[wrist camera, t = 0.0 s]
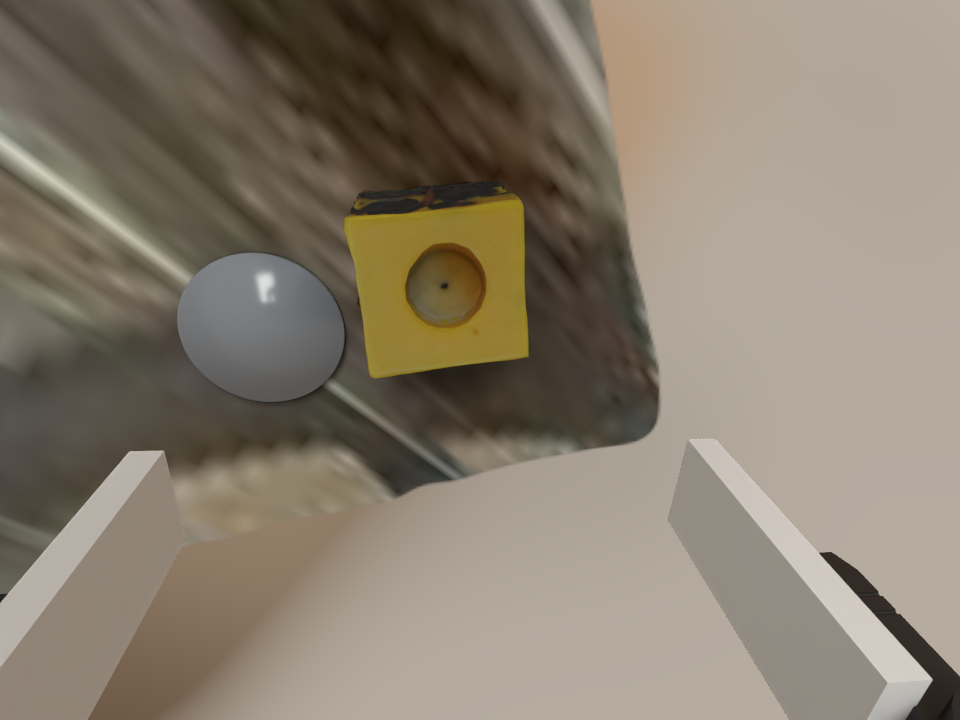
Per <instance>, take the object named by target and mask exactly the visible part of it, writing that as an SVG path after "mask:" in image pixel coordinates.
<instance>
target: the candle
mask: <svg viewBox="0 0 960 720" xmlns="http://www.w3.org/2000/svg"><path fill="white" fill-rule="evenodd" d="M354 204H355V208H354V207H352V208H351V212H350V216H347V217H345V221H344V231H345V235H346V239H347V243H348V246H349V249H350V252H351V255H352V258H353V261H354V264H355V273H356V283H357V288H358V293H359V297H358V301H357V304H358V306H359V307H360V308H361V312H362V318H363V327H364V338H365V348H366V354H367V361H368V368H369V374H370V376H371V377H372V378H382V377H390V376H395V375H401V374H408V373H415V372H422V371H427V370H433V369H440V368H447V367H454V366H462V365H470V364H478V363H486V362H494V361H505V360H514V359H520V358H525V357H528V320H527V312H526V302H525V242H524V206H523V204H522V202H521V199H520V198H518V197H517V196H516V195H514V194H513V193H509V192H508V191H507V192H506V190H504V186H503V185H501V184H500V183H498V181H495V182H494V181H488V182H475V183H470V182H463V183H458V184H456V185H452V184H447V185H439V186H435V185H434V186H422V187H418V186H416V187H415V188H413V189H404V190H389V191H381V192H371V191H367V190H366V191H363V192H362V193H360V194H358V196H357V200H356V201H355V202H354Z"/></svg>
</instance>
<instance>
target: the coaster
mask: <svg viewBox="0 0 960 720" xmlns="http://www.w3.org/2000/svg"><path fill="white" fill-rule="evenodd" d="M177 325H178V332H179V336H180V339H181V342H182V345H183V347H184V349H185V351H186V353H187V355H188V356H189V358H190V360H191V361H192V362H193V364H194V365H195V366H196V368H197V369H198V370H199V371H200V372H201V373H202V374H203V375H204V376H205V377H206V378H208V379H209V380H210V381H211V382H213V383H214V384H216V385H217V386H219V387H220V388H222V389H224V390H226V391H228V392H230V393H232V394H234V395H237V396H240V397H243V398H246V399H250V400H256V401H262V402H279V401H286V400H292V399H295V398H298V397H302V396H304V395H306V394H308V393H310V392H312V391H314V390H315V389H317V388H318V387H319V386H321V385H322V384H323V383H324V382H325V381H326V380H327V379H328V378H329V377H330V376H331V375H332V373H333V372H334V370H335V369H336V367H337V365H338V363H339V361H340V358H341V355H342V352H343V348H344V342H345V326H344V320H343V316H342V313H341V310H340V308H339V305H338V303H337V301H336V299H335V298H334V296H333V294H332V293H331V291H330V290H329V289H328V288H327V286H326V285H325V284H324V283H323V282H322V281H321V280H320V279H319V278H318V277H317V276H316V275H315V274H313V273H312V272H311V271H309V270H308V269H307V268H305V267H303V266H302V265H300V264H298V263H296V262H294V261H292V260H290V259H287V258H284V257H281V256H278V255H274V254H269V253H263V252H242V253H236V254H231V255H228V256H225V257H222V258H219V259H217V260H215V261H213V262H211V263H210V264H209V265H207V266H206V267H204V268H203V269H201V270H200V271H199V272H198V273H197V274H196V275H195V276H194V277H193V278H192V279H191V280H190V282H189V283H188V284H187V286H186V288H185V289H184V291H183V293H182V296H181V299H180V302H179V306H178V312H177Z"/></svg>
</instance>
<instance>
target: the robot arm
mask: <svg viewBox="0 0 960 720" xmlns="http://www.w3.org/2000/svg"><path fill="white" fill-rule="evenodd" d="M668 521H669V523H670V524H671V526H672V528H673V529H674V531H675V533H676V534H677V536H678V538H679V539H680V541H681V543H682V544H683V546H684V547H685V549H686V551H687V552H688V554H689V556H690V557H691V559H692V561H693V562H694V564H695V566H696V567H697V569H698V570H699V572H700V574H701V575H702V577H703V579H704V580H705V582H706V584H707V585H708V587H709V588H710V590H711V592H712V593H713V595H714V597H715V598H716V600H717V602H718V603H719V605H720V607H721V608H722V610H723V611H724V613H725V615H726V617H727V618H728V620H729V621H730V623H731V625H732V626H733V628H734V630H735V631H736V633H737V635H738V636H739V638H740V639H741V641H742V643H743V644H744V646H745V648H746V649H747V651H748V653H749V654H750V656H751V658H752V659H753V661H754V663H755V664H756V666H757V667H758V669H759V671H760V672H761V674H762V676H763V677H764V679H765V681H766V682H767V684H768V686H769V687H770V689H771V691H772V692H773V694H774V695H775V697H776V698H777V700H778V702H779V703H780V705H781V707H782V709H783V710H784V712H785V714H786V715H787V717H788V718H789V720H960V676H959V675H958V674H957V673H956V672H955V671H954V670H953V669H952V668H951V667H950V666H949V665H948V664H947V663H946V662H945V661H944V660H943V659H942V658H941V656H940V655H939V654H938V653H937V652H936V651H935V650H934V649H933V648H932V647H931V646H930V645H929V644H928V643H927V642H926V641H925V640H924V639H923V638H922V637H921V636H920V635H919V633H918V632H917V631H916V630H915V629H914V628H913V627H912V626H911V625H910V624H909V623H908V622H907V621H906V620H905V619H904V618H903V617H902V616H901V615H900V614H897V613H896V611H895V608H894V607H892V605H891V604H890V603H889V602H888V601H887V600H886V599H885V598H884V597H883V596H879V594H878V591H877V590H876V589H875V588H874V586H873V585H872V584H871V583H870V582H869V581H868V580H867V579H866V578H865V577H864V576H863V575H862V574H861V573H860V572H859V571H858V570H857V569H855V568H854V567H853V566H851V565H850V564H848V563H847V562H845V561H844V560H842V559H841V558H839V557H838V556H836V555H835V554H833V553H832V552H825V553H818V552H817V551H816V550H815V549H814V547H813V546H812V545H811V544H810V543H809V542H808V541H807V540H806V539H805V538H804V537H803V535H802V534H801V533H800V532H799V531H798V530H797V529H796V528H795V527H794V526H793V524H792V523H791V522H790V521H789V520H788V519H787V518H786V517H785V516H784V514H783V513H782V512H781V511H780V510H779V509H778V508H777V507H776V505H775V504H774V503H773V502H772V501H771V500H770V499H769V498H768V497H767V496H766V494H764V492H763V491H762V490H761V489H760V488H759V487H758V486H757V484H756V483H755V482H754V481H753V480H752V479H751V478H750V477H749V476H748V475H747V474H746V472H745V471H744V470H743V469H742V468H741V467H740V466H739V465H738V463H737V462H736V461H735V460H734V459H733V458H732V457H731V456H730V455H729V454H728V453H727V451H726V450H725V449H724V448H723V447H722V446H721V445H720V444H719V443H718V441H717V440H716V439H688V441H687V445H686V449H685V453H684V457H683V462H682V465H681V469H680V474H679V477H678V482H677V485H676V489H675V493H674V497H673V502H672V505H671V509H670V513H669V517H668ZM185 540H186V537H185V533H184V529H183V525H182V521H181V517H180V513H179V509H178V505H177V501H176V497H175V493H174V489H173V485H172V481H171V477H170V473H169V469H168V465H167V461H166V457H165V453H164V451H129V453H128V454H127V455H126V456H125V457H124V459H123V460H122V461H121V462H120V463H119V464H118V466H117V467H116V468H115V469H114V470H113V471H112V473H111V474H110V475H109V476H108V477H107V478H106V480H105V481H104V482H103V483H102V484H101V485H100V487H99V488H98V489H97V490H96V491H95V493H94V494H93V495H92V496H91V497H90V498H89V500H88V501H87V502H86V503H85V504H84V505H83V507H82V508H81V509H80V510H79V511H78V512H77V514H76V515H75V516H74V517H73V518H72V519H71V521H70V522H69V523H68V524H67V525H66V526H65V528H64V529H63V530H62V531H61V532H60V534H59V535H58V536H57V537H56V538H55V539H54V541H53V542H52V543H51V544H50V545H49V546H48V548H47V549H46V550H45V551H44V552H43V553H42V555H41V556H40V557H39V558H38V559H37V560H36V562H35V563H34V564H33V565H32V566H31V567H30V569H29V570H28V571H27V572H26V573H25V575H24V576H23V577H22V578H21V579H20V580H19V582H18V583H17V584H16V585H15V586H14V587H13V589H12V590H11V591H10V592H9V593H8V594H0V720H88V718H89V716H90V714H91V712H92V710H93V709H94V707H95V705H96V703H97V701H98V699H99V698H100V696H101V694H102V692H103V690H104V689H105V687H106V685H107V683H108V681H109V679H110V678H111V676H112V674H113V672H114V670H115V668H116V666H117V665H118V663H119V661H120V659H121V657H122V655H123V654H124V652H125V650H126V648H127V646H128V644H129V643H130V641H131V639H132V637H133V635H134V634H135V632H136V630H137V628H138V626H139V624H140V623H141V621H142V619H143V617H144V615H145V613H146V611H147V610H148V608H149V606H150V604H151V602H152V601H153V599H154V597H155V595H156V593H157V591H158V590H159V588H160V586H161V584H162V582H163V580H164V579H165V577H166V575H167V573H168V571H169V569H170V567H171V566H172V564H173V562H174V560H175V558H176V557H177V555H178V553H179V551H180V549H181V548H182V546H183V544H184V542H185Z"/></svg>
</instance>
